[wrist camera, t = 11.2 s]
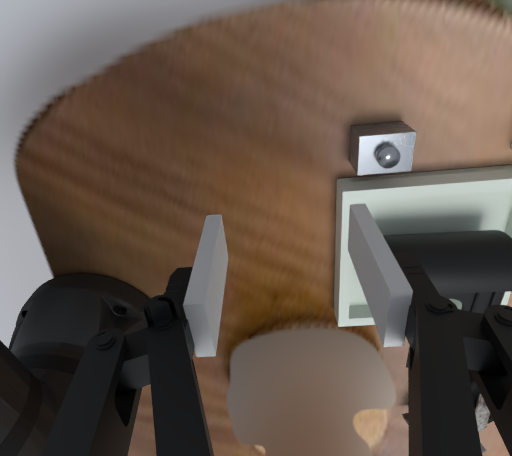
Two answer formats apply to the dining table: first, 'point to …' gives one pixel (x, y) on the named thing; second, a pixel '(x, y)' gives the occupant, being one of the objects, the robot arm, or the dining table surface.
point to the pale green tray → (417, 218)
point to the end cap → (462, 264)
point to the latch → (381, 147)
